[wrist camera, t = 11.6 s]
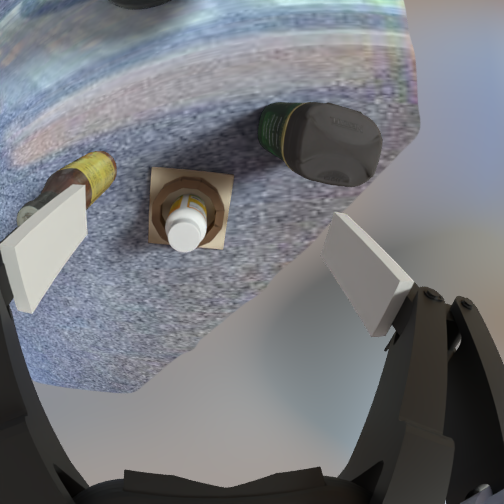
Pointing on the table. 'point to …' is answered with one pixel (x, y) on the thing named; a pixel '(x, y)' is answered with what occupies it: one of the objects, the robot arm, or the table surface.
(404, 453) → the robot arm
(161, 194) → the collar
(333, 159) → the coffee jar
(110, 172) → the sauce bottle
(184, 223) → the supplement bottle
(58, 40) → the table surface
